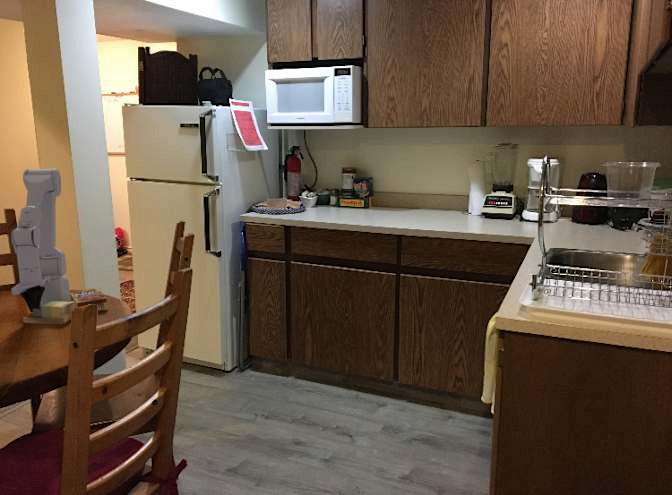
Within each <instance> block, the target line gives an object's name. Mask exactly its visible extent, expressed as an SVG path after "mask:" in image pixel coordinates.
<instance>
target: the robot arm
mask: <svg viewBox="0 0 672 495" xmlns="http://www.w3.org/2000/svg"><path fill="white" fill-rule="evenodd" d="M22 180H23V181H22V182H23V185H24V187H25V188H26V191H27V195H26V203H25V207H22V208H21V210H20V213H19V217H18V222H17V227H16V228H15V229H12V231H11V236H10V238H11V239H10V240H11V244H12V246H13V249H14V250H13V251H14V254H16V258H17V266H18V274H19V283H18V284H16V285H15V286H14V287H12V288H11V294H12V295H13V296H14V295H16V296H17V295H20V296H21V297H22V298H23V299H24V301H25V303H26V305H27V307H28V310H29V312H30V313H33V308H36V307H38V306H40V305H42V304H47V303H49V302H51V301H61V302H70V301H71V299H70V292H71V290H70V282H69V279H68V277H67V276H65V274H66V273H67V262H66V255H65V252H64V251H62V250H60V249H59V248H58V247H57V244H56V242H57V239H56V237H57V236H56V235H57V234H56V233H57V232H56V230H57V229H56V227H57V226H56V201H57V198H58V197H59V196H61V194H62V193H61V192H62V177H61V173H60V171H59V170H58V168H55V167H54V168H38V169H37V168H36V169H34V168H33V169H32V168H31V169H29V168H25V170H24V171H23V174H22Z"/></svg>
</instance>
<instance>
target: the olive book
mask: <svg viewBox="0 0 672 495" xmlns="http://www.w3.org/2000/svg"><path fill="white" fill-rule="evenodd" d="M59 302H61V301H51V302H49V303H47V304H45V305H42V306H41V308H42V317H43V318H52V315H51V306H53V305H55V304H57V303H59Z"/></svg>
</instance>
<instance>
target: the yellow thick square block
mask: <svg viewBox="0 0 672 495" xmlns="http://www.w3.org/2000/svg"><path fill="white" fill-rule="evenodd" d="M68 302H69V301H68ZM68 302H59V303H57V304H55V305H53V306H51V315H52V318H60V315H59V307H60V306H62V305H64V304H66V303H68Z"/></svg>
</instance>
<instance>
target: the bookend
mask: <svg viewBox="0 0 672 495" xmlns="http://www.w3.org/2000/svg"><path fill="white" fill-rule="evenodd" d="M42 305H45V304H42ZM42 305H40V306H38V307H36V308H33V312H32V317H35V318H43V317H42V308H41V306H42Z"/></svg>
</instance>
